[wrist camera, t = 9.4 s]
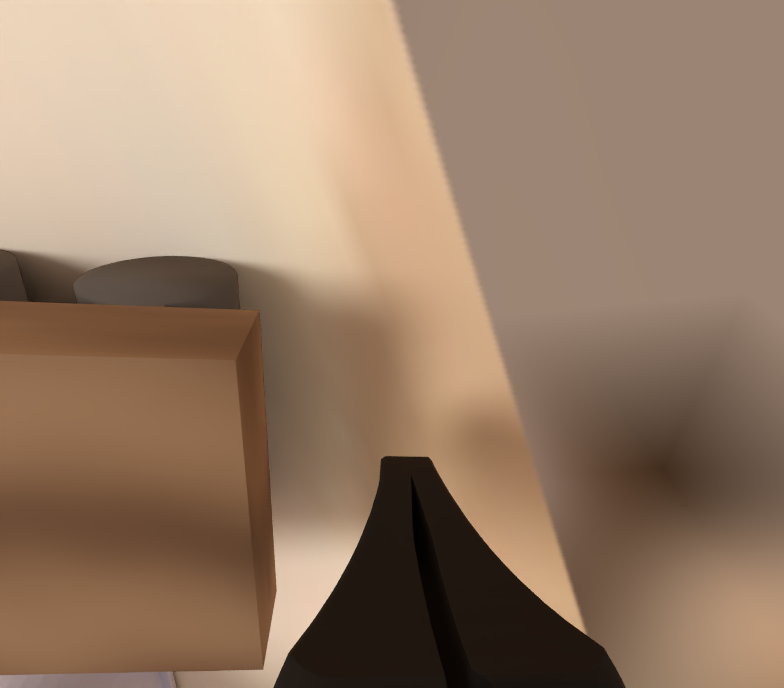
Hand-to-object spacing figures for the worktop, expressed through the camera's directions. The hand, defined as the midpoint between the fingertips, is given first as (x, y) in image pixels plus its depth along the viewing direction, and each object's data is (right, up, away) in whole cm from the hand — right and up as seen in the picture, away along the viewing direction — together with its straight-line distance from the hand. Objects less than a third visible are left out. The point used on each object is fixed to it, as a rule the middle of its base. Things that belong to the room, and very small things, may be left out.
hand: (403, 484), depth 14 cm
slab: (-11, +1, -1) cm, 11 cm away
